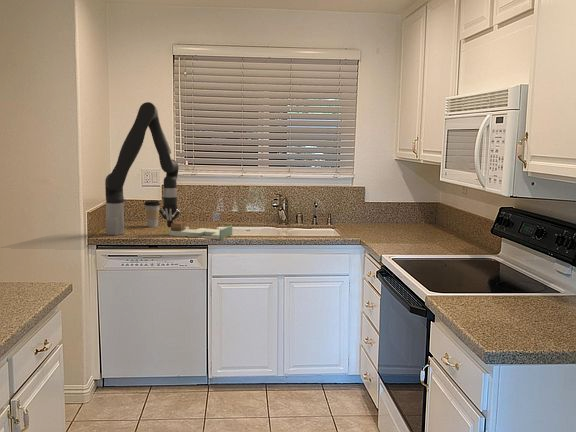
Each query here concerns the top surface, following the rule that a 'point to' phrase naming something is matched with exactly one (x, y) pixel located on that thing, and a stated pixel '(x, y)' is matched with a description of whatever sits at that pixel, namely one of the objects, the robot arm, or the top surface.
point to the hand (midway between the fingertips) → (170, 227)
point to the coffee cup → (152, 213)
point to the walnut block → (178, 226)
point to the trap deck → (203, 232)
